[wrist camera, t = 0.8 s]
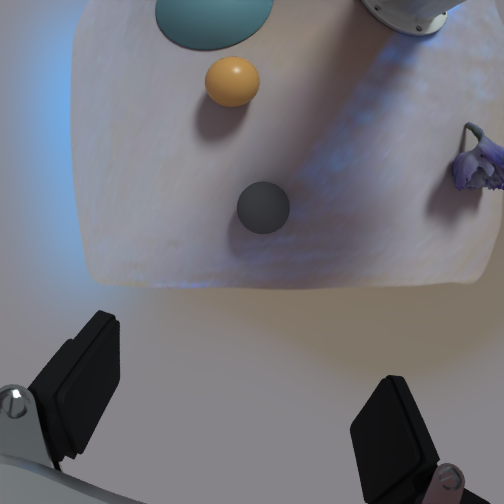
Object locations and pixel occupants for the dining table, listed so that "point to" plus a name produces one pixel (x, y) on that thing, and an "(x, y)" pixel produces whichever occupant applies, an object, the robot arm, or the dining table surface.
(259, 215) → the dark grey ball
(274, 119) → the dining table surface
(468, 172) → the flower
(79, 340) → the robot arm
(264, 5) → the teal flat disc
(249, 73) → the object ball
